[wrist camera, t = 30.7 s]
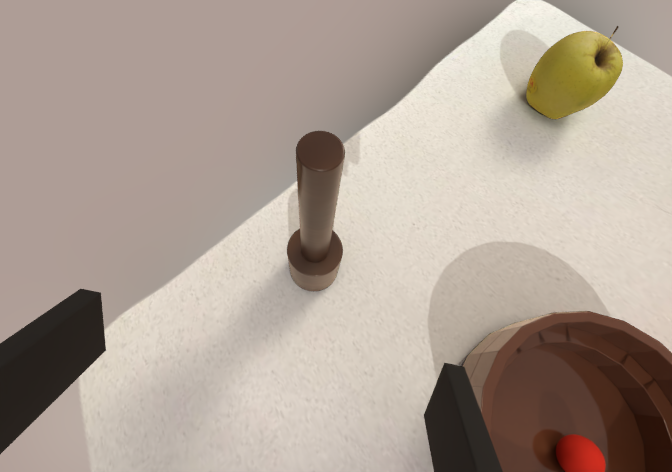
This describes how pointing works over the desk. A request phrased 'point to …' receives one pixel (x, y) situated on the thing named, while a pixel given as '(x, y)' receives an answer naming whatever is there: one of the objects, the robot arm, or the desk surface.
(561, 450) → the red ball
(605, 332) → the bowl
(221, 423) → the desk surface
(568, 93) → the apple
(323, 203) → the brown pestle
